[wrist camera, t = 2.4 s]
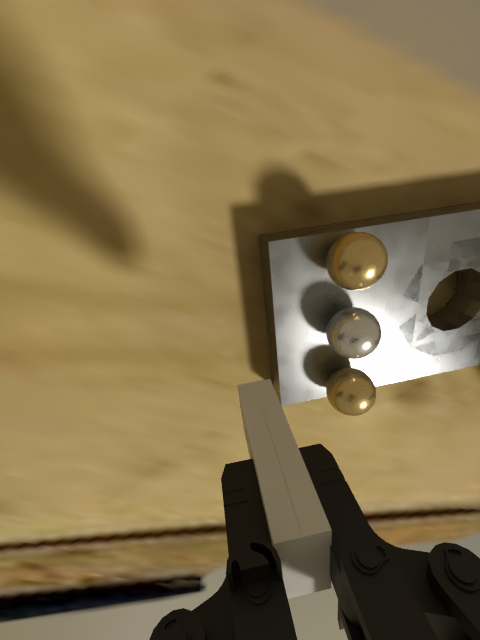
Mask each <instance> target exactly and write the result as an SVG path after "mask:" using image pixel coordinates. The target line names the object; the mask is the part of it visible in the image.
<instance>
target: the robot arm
mask: <svg viewBox="0 0 480 640" xmlns="http://www.w3.org/2000/svg"><path fill="white" fill-rule="evenodd" d="M237 386H238V393H239V399H240V406H241V412H242V419H243V425H244V432H245V436H246V441H247V446H248V450H249V455H250V459H249V460H244V461H239V462H234V463H230V464H226V465H225V468H224V471H223V474H222V477H221V481H222V491H223V501H224V511H225V521H226V531H227V542H228V552H229V558H228V560H227V568H226V578H225V580H224V582H223V584H222V586H221V587H220V588H219V590H218V591H217V592H216V593H215V594H214V595H213V596H212V597H211V598H209V599H208V600H206V601H205V602H204V603H202V604H201V605H200V606H198V607H197V608H195V609H194V610H192V611H189V610H187V609H184V608H183V609H178V610H173V611H172V612H170V613H169V614H167V615H166V616H164V617H163V618H162V619H161V621H160V622H159V623H158V625H157V626H156V627H155V628H154V630H153V633H152V635H151V637H150V640H297V637H296V633H295V628H294V624H293V620H292V616H291V611H290V607H289V603H288V599H290V598H294V597H297V596H301V595H305V594H309V593H313V592H317V591H321V590H325V589H329V588H331V581H332V583H333V586H334V589H335V592H336V594H337V597H338V622H339V628H340V630H341V629H345V631H346V634H347V637H348V640H480V558H478V557H477V556H476V555H475V554H473V553H472V552H471V551H470V550H468V549H466V548H463V547H461V546H459V545H457V544H452V543H441V544H438V545H436V546H435V547H434V548H433V549H432V550H431V552H430V553H428V552H422V551H415V550H408V549H402V548H398V547H395V546H393V545H391V544H389V543H387V542H385V541H384V540H383V539H381V538H380V537H379V536H378V535H377V534H376V533H375V532H374V531H373V530H372V528H371V527H370V525H369V524H368V522H367V520H366V518H365V516H364V514H363V512H362V511H361V509H360V507H359V505H358V503H357V501H356V499H355V497H354V495H353V493H352V491H351V490H350V488H349V486H348V484H347V482H346V481H345V478H344V476H343V474H342V472H341V470H339V467H338V465H337V463H336V461H335V459H334V457H333V455H332V454H331V453H330V452H329V451H328V450H327V449H326V448H325V447H324V446H323V445H321V444H316V445H311V446H307V447H302V448H298V446H297V444H296V441H295V439H294V436H293V434H292V431H291V429H290V426H289V424H288V421H287V419H286V416H285V414H284V412H283V409H282V407H281V404H280V402H279V399H278V397H277V394H276V392H275V389H274V387H273V385H272V382H271V380H270V379H267V380H262V381H256V382H251V383H246V384H240V385H237Z"/></svg>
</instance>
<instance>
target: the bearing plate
mask: <svg viewBox="0 0 480 640" xmlns="http://www.w3.org/2000/svg"><path fill="white" fill-rule="evenodd" d="M352 232H366V233H369V234H372V235H374V236H376V237H377V238H378V239H380V240H381V242H382V243H383V244H384V246H385V248H386V250H387V254H388V265H387V269H386V271H385V273H384V275H383V276H382V278H381V279H380V280H379V281H378V282H377V283H376V284H374V285H373V286H371V287H369V288H366V289H363V290H356V291H355V290H347V289H344V288H342V287H340V286H338V285H337V284H336V283H334V282H333V281H332V279H331V278H330V276H329V274H328V271H327V267H326V259H327V255H328V252H329V250H330V248H331V246H332V245H333V244H334V243H335V242H336V241H337V240H338V239H339V238H341V237H342V236H344V235H346V234H349V233H352ZM259 242H260V253H261V264H262V275H263V286H264V297H265V308H266V319H267V330H268V341H269V352H270V362H271V373H272V384H273V387H274V389H275V392H276V394H277V397H278V399H279V402H280V404H281V406H285V405H290V404H294V403H299V402H304V401H309V400H314V399H318V398H323V397H327V394H326V385H327V382H328V380H329V378H330V376H331V375H332V374H333V373H334V372H336V371H337V370H339V369H342V368H349V367H351V368H357V369H359V370H362V371H363V372H365V373H366V374H367V375H368V376H369V377H370V378H371V379H372V381H373V383H374V385H375V387H376V386H380V385H385V384H390V383H395V382H400V381H404V380H409V379H414V378H419V377H424V376H428V375H433V374H438V373H443V372H447V371H452V370H457V369H462V368H467V367H471V366H476V365H480V202H476V203H470V204H463V205H457V206H450V207H443V208H437V209H430V210H424V211H417V212H410V213H404V214H397V215H391V216H384V217H377V218H371V219H364V220H358V221H351V222H344V223H338V224H331V225H325V226H318V227H312V228H305V229H298V230H292V231H285V232H279V233H272V234H265V235H259ZM454 271H456V272H457V274H458V277H459V279H458V284H457V289H456V293H455V294H454V296H453V297H452V299H451V300H450V302H449V303H448V305H447V306H446V307H444V308H443V309H441V310H440V311H439V312H437V313H436V314H434V315H431V316H426V311H427V305H428V298H429V297H430V295H431V294H432V292H433V291H434V289H435V288H436V286H437V285H438V283H439V282H440V281H442V280H443V279H444V278H446V277H447V276H449V275H450V274H451V273H453V272H454ZM349 307H358V308H362V309H365V310H367V311H369V312H370V313H372V314H373V315H374V316H375V317H376V319H377V320H378V322H379V324H380V327H381V340H380V343H379V345H378V347H377V348H376V350H375V351H374V352H373V353H371V354H370V355H368V356H366V357H363V358H360V359H349V358H345V357H342V356H340V355H339V354H337V353H336V352H335V351H334V350H333V349H332V348H331V347H330V345H329V343H328V341H327V337H326V329H327V325H328V322H329V320H330V319H331V317H332V316H333V315H334V314H335V313H337V312H338V311H340V310H342V309H345V308H349Z"/></svg>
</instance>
